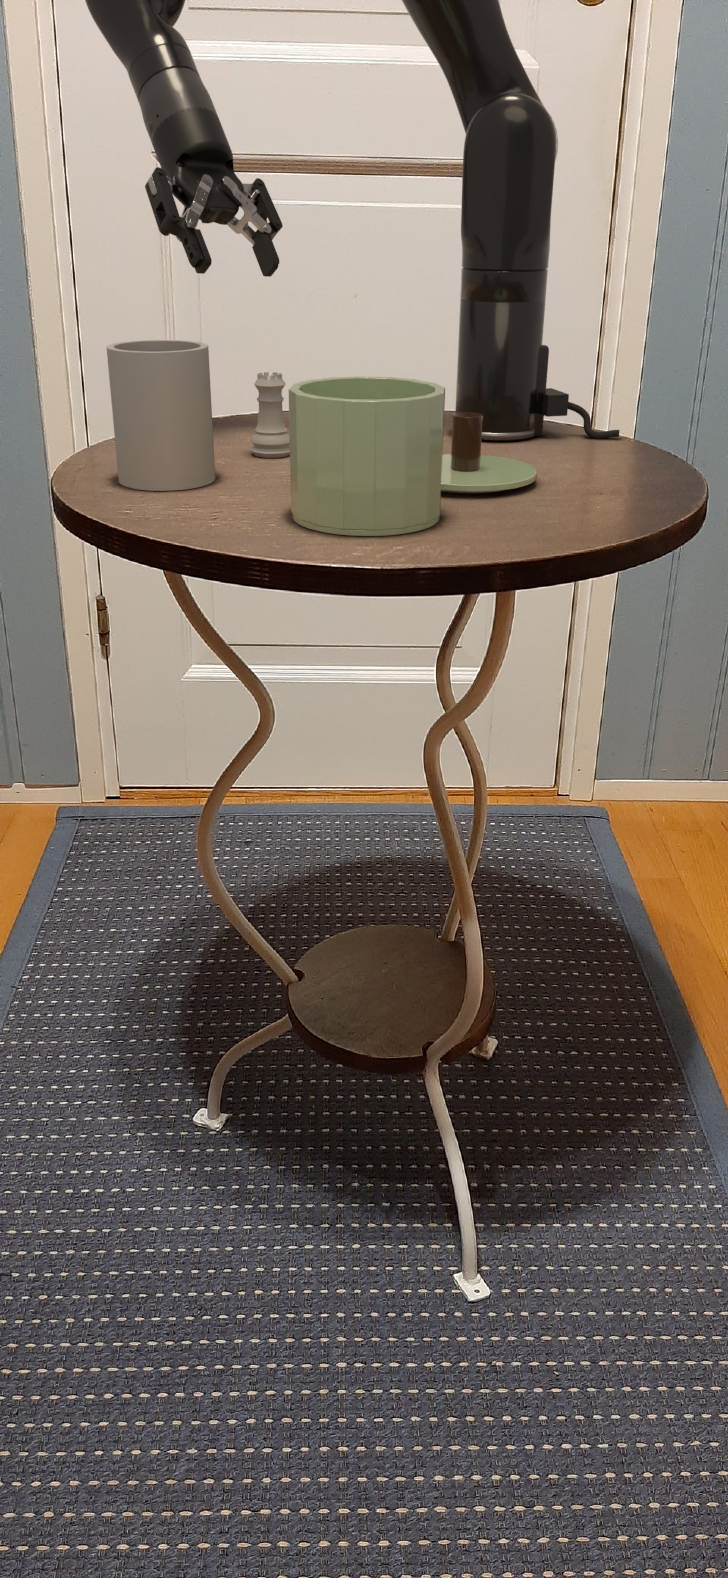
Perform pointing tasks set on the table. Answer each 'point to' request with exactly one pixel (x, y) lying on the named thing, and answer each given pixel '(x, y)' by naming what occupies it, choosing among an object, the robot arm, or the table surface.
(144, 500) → the table surface
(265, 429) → the rook chess piece
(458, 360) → the robot arm
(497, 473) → the jar lid
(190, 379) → the cup
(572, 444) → the table surface
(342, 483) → the jar
